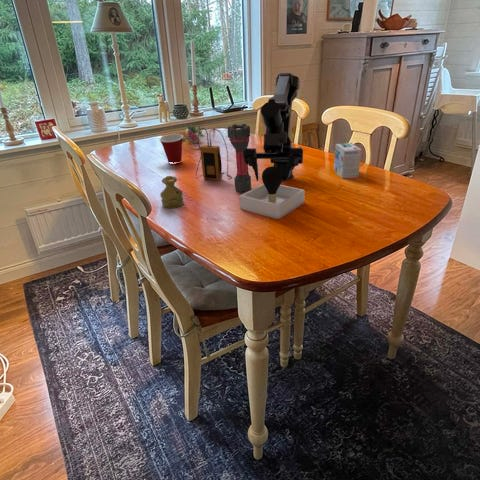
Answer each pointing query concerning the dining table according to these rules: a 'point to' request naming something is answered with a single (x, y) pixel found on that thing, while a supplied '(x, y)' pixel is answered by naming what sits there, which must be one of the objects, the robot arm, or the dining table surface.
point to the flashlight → (240, 155)
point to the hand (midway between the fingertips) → (271, 180)
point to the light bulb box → (347, 160)
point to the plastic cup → (172, 147)
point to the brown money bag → (171, 194)
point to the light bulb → (272, 181)
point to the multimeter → (211, 160)
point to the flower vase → (192, 134)
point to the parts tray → (284, 203)
